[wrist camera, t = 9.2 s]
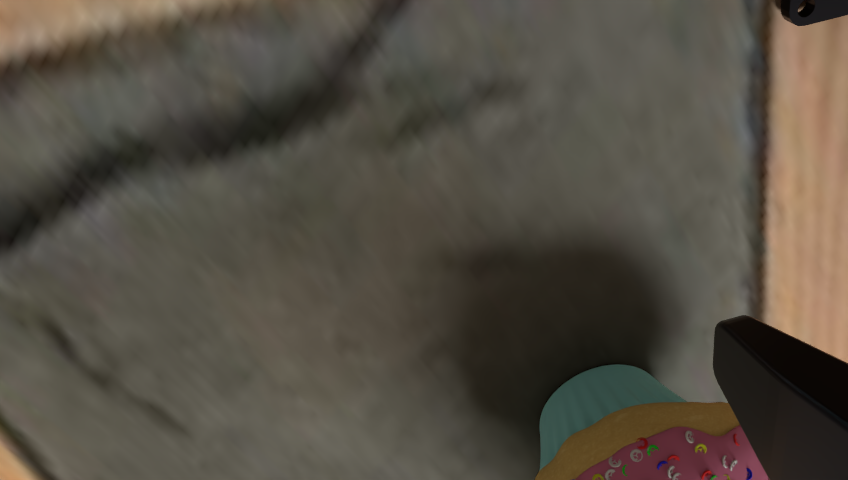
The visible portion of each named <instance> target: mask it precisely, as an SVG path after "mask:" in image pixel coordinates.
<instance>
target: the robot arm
mask: <svg viewBox="0 0 848 480" xmlns="http://www.w3.org/2000/svg"><path fill="white" fill-rule="evenodd" d="M803 1H804V0H782V2H781V14H782V16H783V17H784V19H785V20H787V21H789V22H791V23H793V24H795V25H797V26H805V25H809V24H813V23H817V22H821V21H825V20H829V19H833V18H837V17H841V16H845V15H848V0H806V1H807V2H806V5H805V7H804V8H803V9H802V10H801V11H800V12H798V8H799V5H800V4H801V3H802V2H803ZM713 369H714V374H715V377H716V379H717V382H718V384H719V386H720V388H721V390H722V391H723V393H724V395H725V397H726V399H727V401H728V403H729V405H730V407H731V409H732V410H733V412H734V414H735V416H736V418H737V420H738V422H739V424H740V426H741V428H742V429H743V431H744V433H745V435H746V437H747V439H748V441H749V443H750V445H751V447H752V448H753V450H754V452H755V454H756V456H757V458H758V460H759V462H760V464H761V465H762V467H763V469H764V471H765V472H766V474H767V476H768V478H769V479H770V480H848V363H846V362H844V361H842V360H840V359H838V358H836V357H834V356H832V355H830V354H828V353H825V352H823V351H821V350H819V349H817V348H815V347H813V346H811V345H809V344H807V343H805V342H803V341H801V340H799V339H796V338H794V337H792V336H790V335H788V334H786V333H784V332H782V331H780V330H778V329H776V328H774V327H772V326H769V325H767V324H765V323H763V322H761V321H759V320H757V319H755V318H753V317H750V316H746V315H742V316H738V317H734V318H731V319H727V320H724V321H721V322H719V323H718V324H717V325H716V327H715V336H714V354H713Z"/></svg>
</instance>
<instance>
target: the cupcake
mask: <svg viewBox="0 0 848 480" xmlns="http://www.w3.org/2000/svg"><path fill="white" fill-rule="evenodd" d="M539 428H540V443H541V457H540V470H539V472H538V474H537V476H536V478H535V480H770V479H769V478H768V476H767V474H766V472H765V471H764V469H763V467H762V465H761V464H760V462H759V460H758V458H757V456H756V454H755V452H754V450H753V448H752V447H751V445H750V443H749V441H748V439H747V437H746V435H745V433H744V431H743V429H742V428H741V426H740V424H739V422H738V420H737V418H736V416H735V414H734V412H733V410H732V409H731V407H730V405H729V403H724V402H716V403H699V402H687V401H685V400H684V399H682V398H681V397H679V396H678V395H676V394H675V393H673V392H672V391H670V390H669V389H668V388H666V387H665V386H664V385H662V384H661V383H660V382H658V381H657V380H656V379H655V378H654V377H652V376H651V375H650V374H649V373H647V372H646V371H644V370H642V369H640V368H637V367H634V366H629V365H621V364H615V365H605V366H600V367H596V368H593V369H590V370H587V371H585V372H582V373H580V374H578V375H576V376H574V377H573V378H571V379H570V380H568V381H567V382H565V383H564V384H563V385H562V386H560V387H559V388H558V389H557V390H556V391H555V392H554V393H553V394H552V396H551V397H550V398H549V400H548V401H547V403H546V404H545V406H544V408H543V411H542V413H541V417H540V423H539Z"/></svg>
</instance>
